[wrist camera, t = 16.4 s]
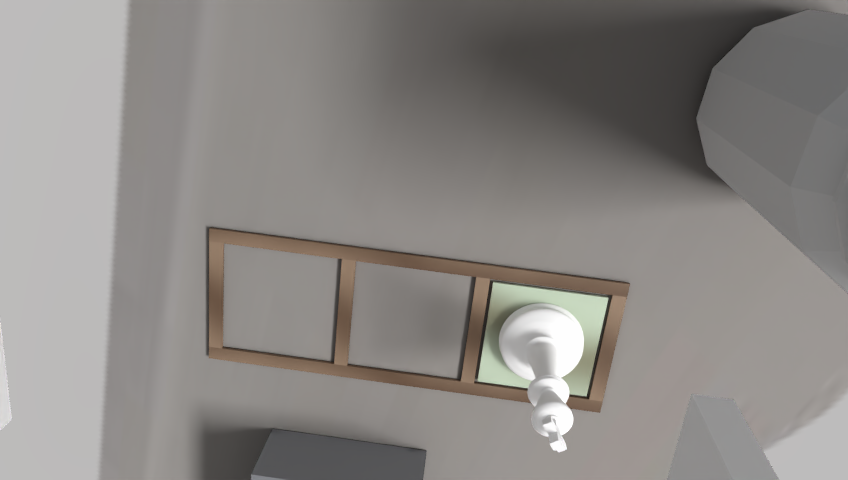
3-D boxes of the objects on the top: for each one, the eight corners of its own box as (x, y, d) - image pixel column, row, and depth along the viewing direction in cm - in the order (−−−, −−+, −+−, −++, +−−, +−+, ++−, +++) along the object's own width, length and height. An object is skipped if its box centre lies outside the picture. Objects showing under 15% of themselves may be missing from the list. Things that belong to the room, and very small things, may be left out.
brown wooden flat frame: (210, 227, 42) (209, 228, 42) (629, 282, 41) (629, 284, 41) (210, 356, 45) (209, 357, 45) (599, 410, 44) (599, 412, 44)
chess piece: (520, 389, 44) (530, 503, 34) (484, 323, 42) (483, 423, 33) (597, 358, 43) (628, 467, 33) (562, 289, 41) (584, 383, 32)
